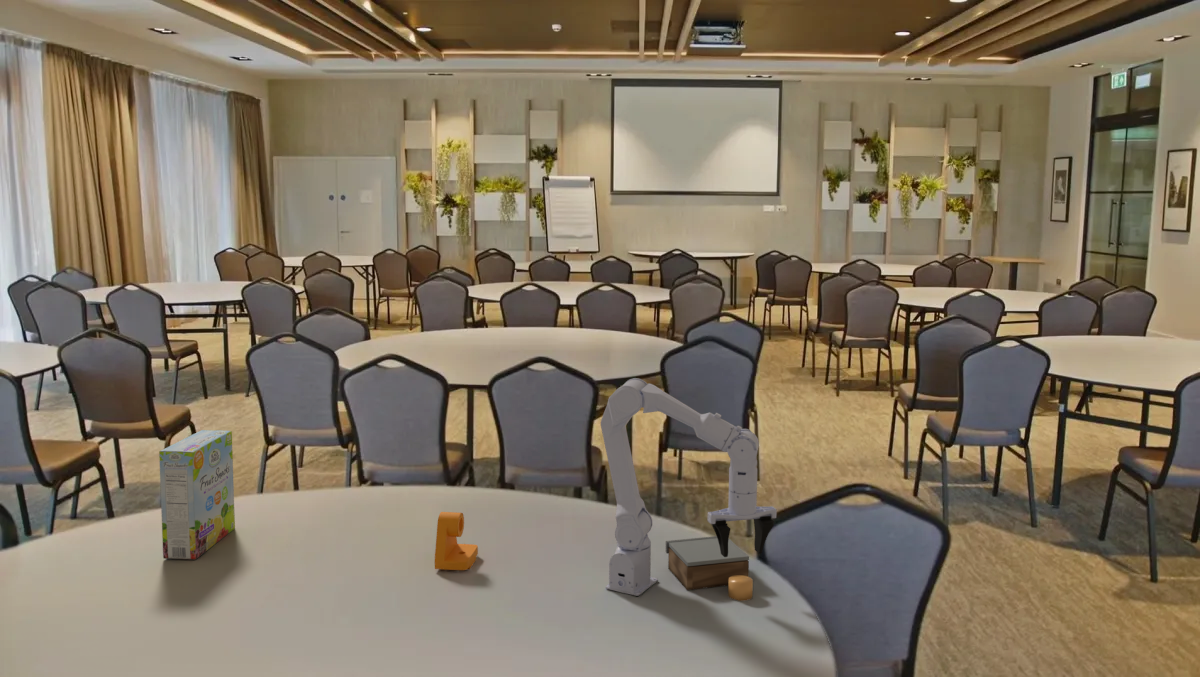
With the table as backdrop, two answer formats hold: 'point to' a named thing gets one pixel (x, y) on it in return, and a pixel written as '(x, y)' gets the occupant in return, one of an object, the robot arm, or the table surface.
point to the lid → (704, 551)
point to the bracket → (452, 544)
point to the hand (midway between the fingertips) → (741, 553)
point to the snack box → (196, 493)
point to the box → (705, 572)
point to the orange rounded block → (740, 587)
